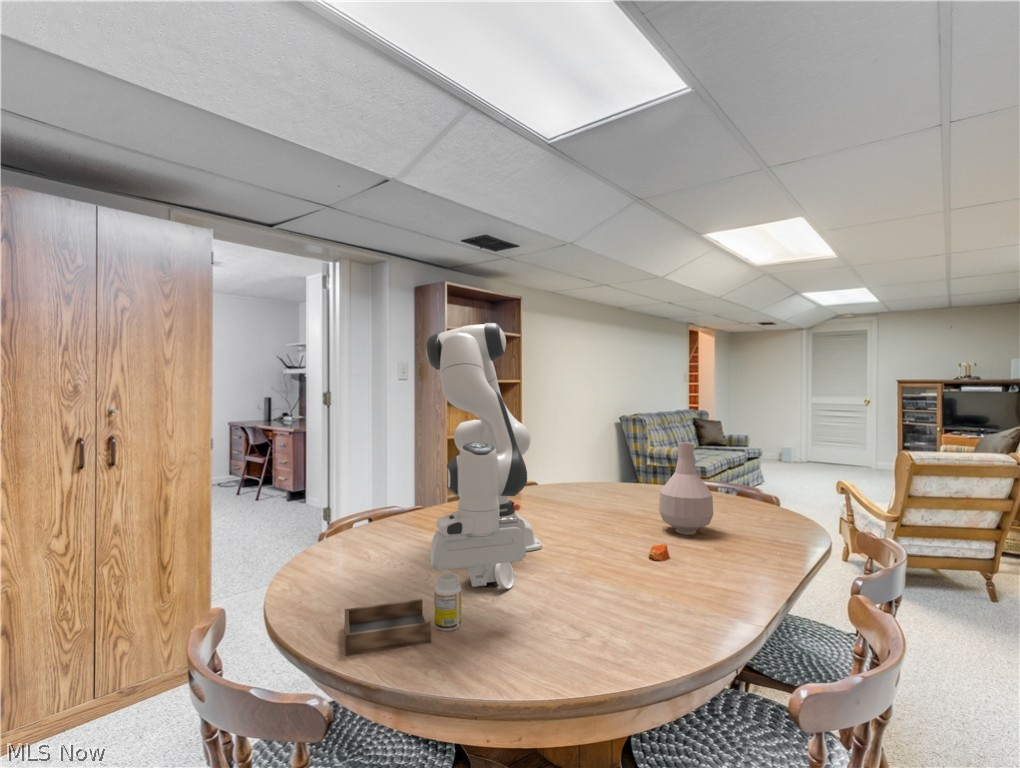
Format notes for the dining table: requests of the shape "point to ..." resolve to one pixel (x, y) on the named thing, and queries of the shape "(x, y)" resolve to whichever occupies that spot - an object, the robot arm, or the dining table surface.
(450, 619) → the supplement bottle
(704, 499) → the vase
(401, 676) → the dining table surface
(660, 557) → the rock
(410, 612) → the tray
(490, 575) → the spread jar
